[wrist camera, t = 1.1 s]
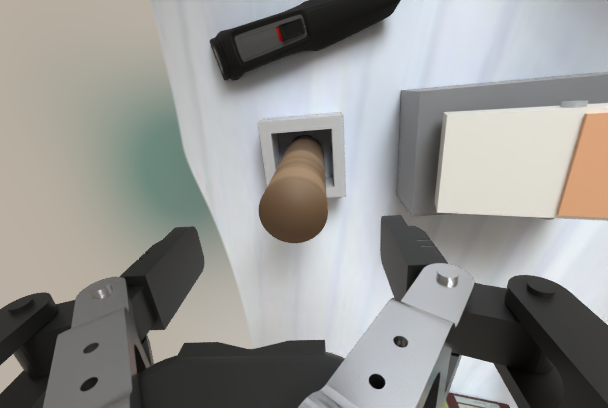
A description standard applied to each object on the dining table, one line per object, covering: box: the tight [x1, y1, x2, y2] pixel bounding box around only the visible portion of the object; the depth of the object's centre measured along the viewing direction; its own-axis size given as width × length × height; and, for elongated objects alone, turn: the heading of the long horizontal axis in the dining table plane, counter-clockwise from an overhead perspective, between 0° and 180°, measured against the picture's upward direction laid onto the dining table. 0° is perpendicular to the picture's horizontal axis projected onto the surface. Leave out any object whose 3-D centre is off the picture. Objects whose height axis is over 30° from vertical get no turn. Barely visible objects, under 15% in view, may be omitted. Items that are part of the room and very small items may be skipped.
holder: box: [258, 112, 346, 198], centre depth 26 cm, size 7×7×3 cm
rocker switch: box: [434, 100, 608, 221], centre depth 18 cm, size 8×14×2 cm, turn 95°
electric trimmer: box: [210, 0, 400, 81], centre depth 22 cm, size 4×16×3 cm, turn 106°
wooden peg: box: [259, 135, 328, 243], centre depth 21 cm, size 4×4×14 cm
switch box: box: [397, 72, 608, 216], centre depth 23 cm, size 10×16×7 cm, turn 95°
